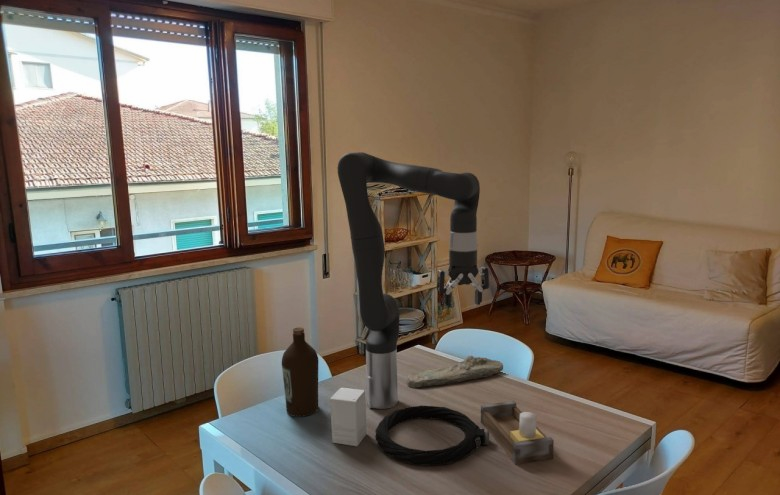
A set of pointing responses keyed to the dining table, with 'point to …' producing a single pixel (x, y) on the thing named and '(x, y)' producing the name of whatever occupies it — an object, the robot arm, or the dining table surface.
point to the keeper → (526, 428)
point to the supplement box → (348, 416)
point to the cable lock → (432, 457)
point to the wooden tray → (507, 419)
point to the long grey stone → (456, 372)
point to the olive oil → (300, 376)
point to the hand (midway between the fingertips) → (462, 305)
